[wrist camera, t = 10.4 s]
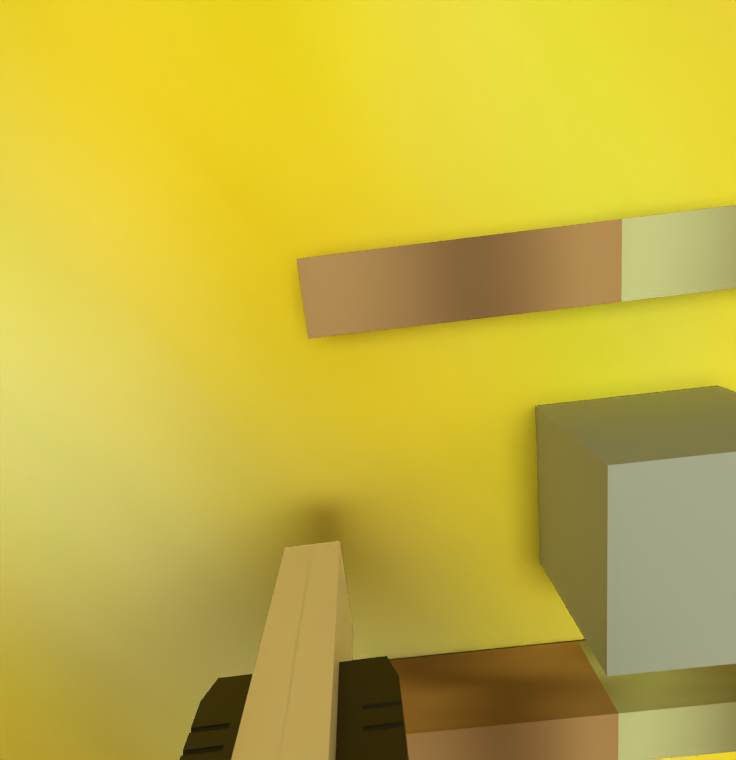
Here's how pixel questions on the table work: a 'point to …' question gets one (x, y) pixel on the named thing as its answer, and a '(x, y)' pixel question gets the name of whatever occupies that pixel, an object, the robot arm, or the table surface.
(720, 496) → the block
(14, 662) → the table surface
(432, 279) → the channel rails
